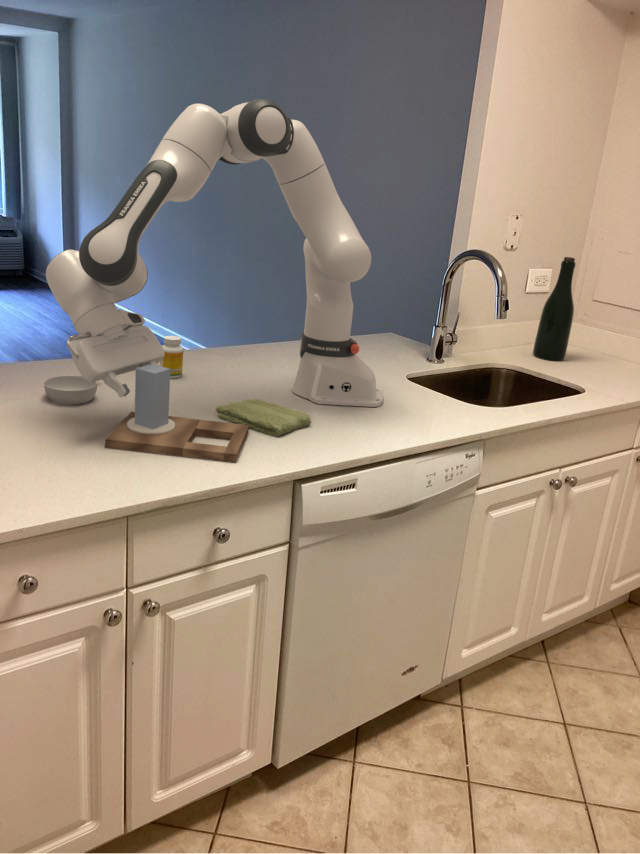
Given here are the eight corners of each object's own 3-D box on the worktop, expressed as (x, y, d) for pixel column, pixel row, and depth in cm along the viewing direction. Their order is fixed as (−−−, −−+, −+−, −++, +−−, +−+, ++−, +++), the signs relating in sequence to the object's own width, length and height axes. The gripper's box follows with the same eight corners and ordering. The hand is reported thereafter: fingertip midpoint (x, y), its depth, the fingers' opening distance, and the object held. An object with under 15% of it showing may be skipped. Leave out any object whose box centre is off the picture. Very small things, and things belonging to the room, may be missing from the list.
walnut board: (248, 432, 147) (249, 425, 146) (235, 462, 132) (236, 454, 131) (131, 418, 147) (131, 411, 147) (105, 447, 132) (105, 439, 132)
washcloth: (250, 405, 165) (251, 392, 164) (313, 427, 156) (315, 413, 154) (210, 417, 154) (211, 403, 153) (275, 441, 145) (277, 426, 144)
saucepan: (33, 401, 151) (33, 384, 150) (77, 380, 168) (77, 364, 167) (81, 409, 150) (81, 392, 148) (121, 387, 166) (121, 371, 165)
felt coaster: (179, 421, 144) (179, 418, 144) (168, 437, 136) (168, 434, 136) (135, 416, 144) (135, 413, 144) (120, 431, 136) (120, 428, 136)
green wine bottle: (563, 363, 236) (586, 260, 225) (530, 357, 240) (551, 256, 229) (565, 357, 246) (587, 258, 235) (533, 351, 249) (554, 253, 238)
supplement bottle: (155, 373, 179) (157, 335, 175) (175, 371, 182) (176, 334, 179) (166, 379, 175) (167, 340, 172) (186, 377, 178) (187, 339, 175)
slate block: (150, 417, 143) (151, 363, 139) (168, 423, 141) (170, 368, 137) (134, 423, 139) (135, 368, 135) (153, 429, 137) (154, 373, 133)
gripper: (71, 327, 129) (113, 392, 128) (147, 313, 146) (184, 370, 145) (53, 347, 132) (94, 410, 131) (129, 331, 149) (165, 387, 149)
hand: (142, 389), depth 138 cm, fingers open, 8 cm apart
